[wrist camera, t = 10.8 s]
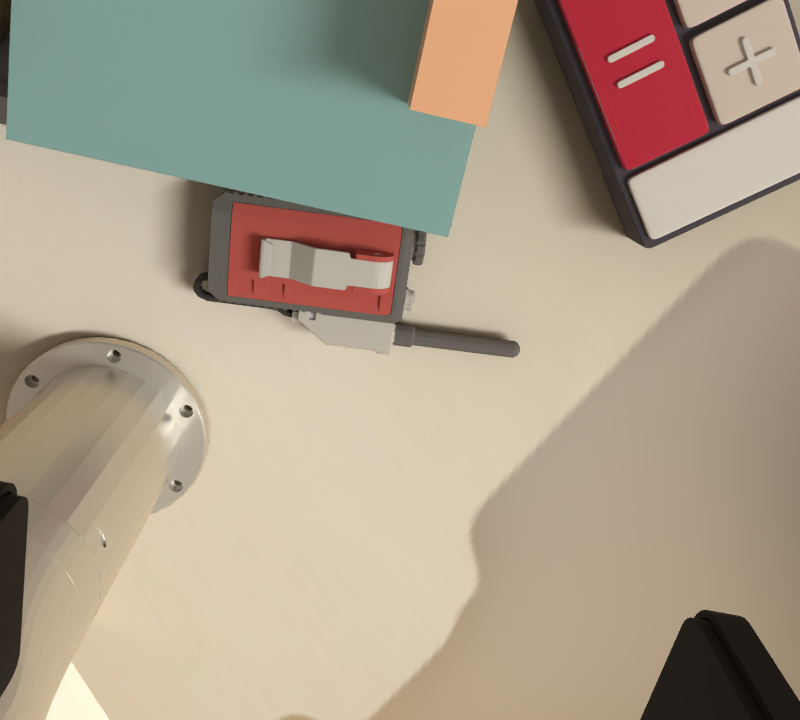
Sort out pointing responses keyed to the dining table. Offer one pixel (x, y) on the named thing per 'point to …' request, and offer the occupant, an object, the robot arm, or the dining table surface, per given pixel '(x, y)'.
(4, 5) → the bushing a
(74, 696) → the milk
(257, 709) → the dining table surface
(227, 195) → the walkie-talkie
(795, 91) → the calculator
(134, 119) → the lid
